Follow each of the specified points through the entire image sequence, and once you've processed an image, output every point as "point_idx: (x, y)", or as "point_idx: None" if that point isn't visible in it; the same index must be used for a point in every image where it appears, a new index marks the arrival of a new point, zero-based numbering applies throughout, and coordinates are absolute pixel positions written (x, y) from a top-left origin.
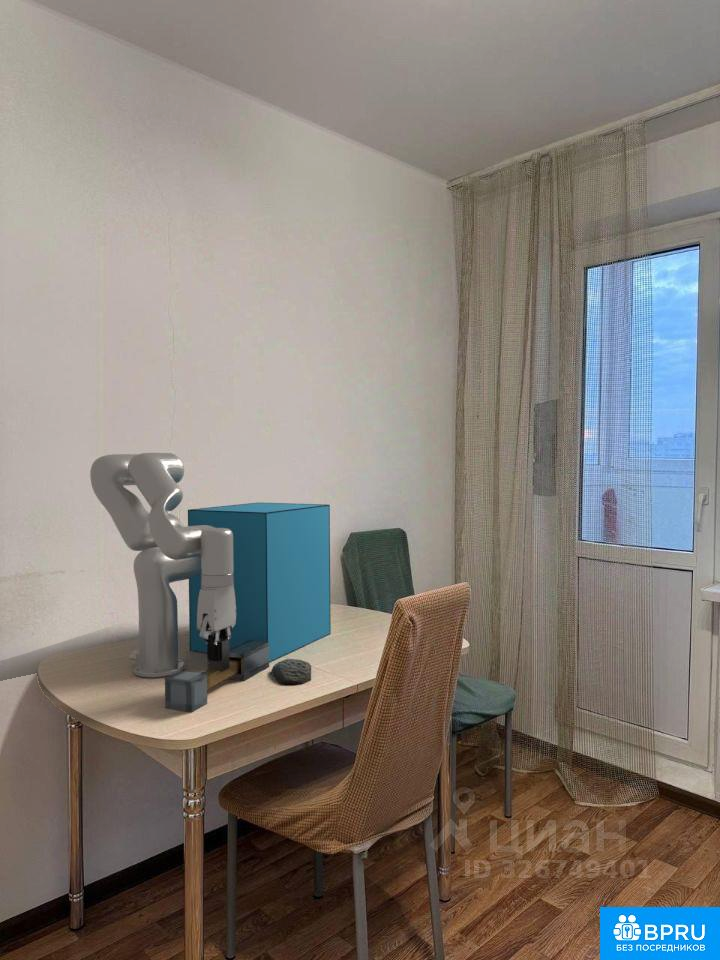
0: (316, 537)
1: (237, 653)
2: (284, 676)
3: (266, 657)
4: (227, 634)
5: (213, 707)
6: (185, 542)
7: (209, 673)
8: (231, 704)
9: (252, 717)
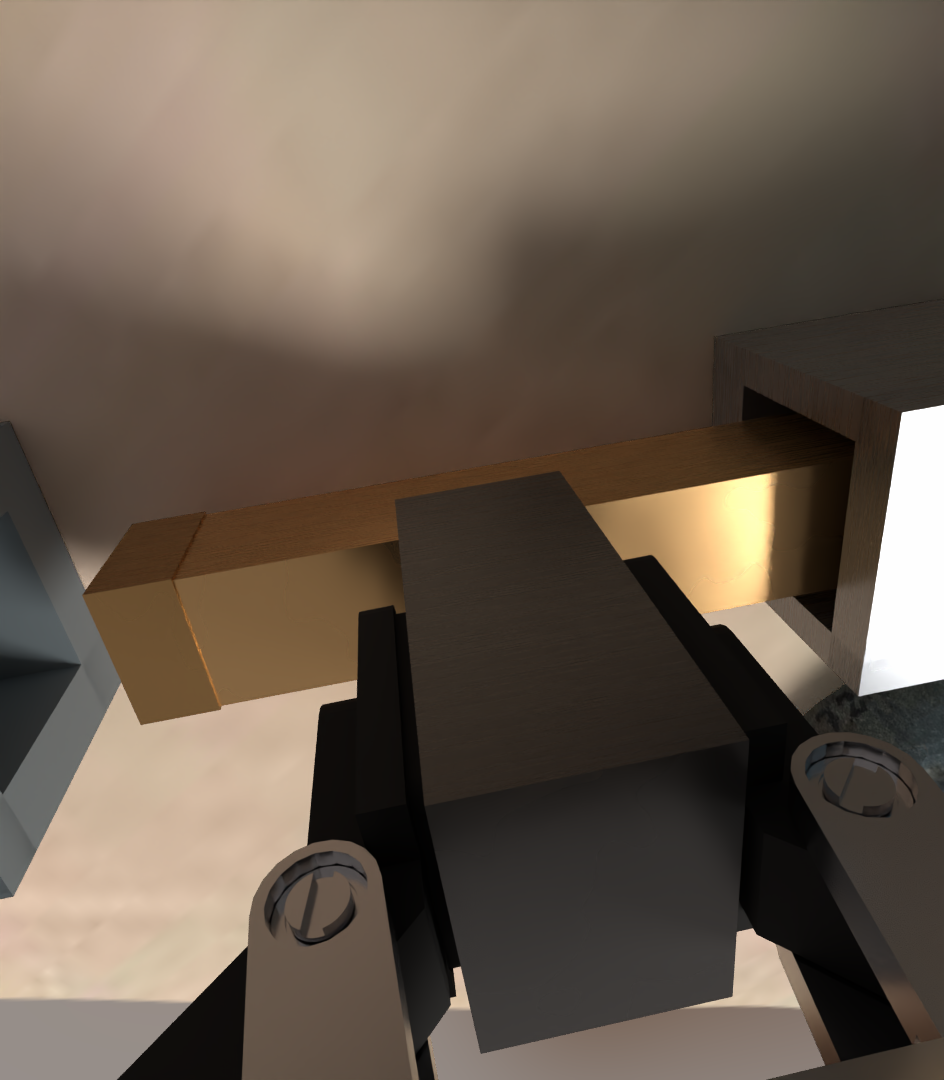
0: None
1: (878, 613)
2: None
3: None
4: (816, 1030)
5: (109, 757)
6: None
7: (256, 667)
8: (243, 802)
9: (174, 998)
